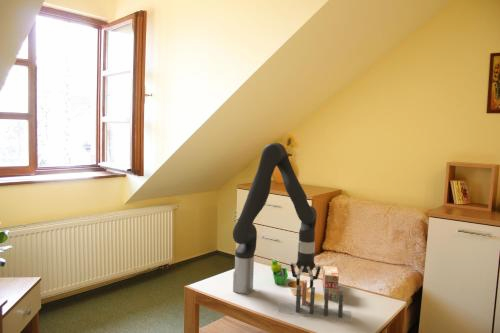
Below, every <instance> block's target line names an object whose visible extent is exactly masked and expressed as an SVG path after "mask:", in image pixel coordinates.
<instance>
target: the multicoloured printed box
mask: <svg viewBox="0 0 500 333" xmlns="http://www.w3.org/2000/svg"><path fill="white" fill-rule="evenodd" d="M339 278H340V275H339V272H338V268H337V266H326V265H325V266H324V265H323V266H322V289H323V290H322V291H323V292H322V293H323V299H324V300H325V288H326V289H329V299H328V301H329V300H330V301H331V300H332V301H338V298H339V281H340V280H339Z"/></svg>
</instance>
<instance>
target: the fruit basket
mask: <svg viewBox="0 0 500 333" xmlns="http://www.w3.org/2000/svg"><path fill="white" fill-rule="evenodd" d="M270 267H271V268H270V270H271V272H272V276H273V279H274V284H275V285H286V283H287V280H288V277H289V274H288V268H286V267H282V264H281V263H280V262H278V261H277V260H276V259H273V260H271V262H270Z"/></svg>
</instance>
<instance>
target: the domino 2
mask: <svg viewBox="0 0 500 333" xmlns="http://www.w3.org/2000/svg"><path fill="white" fill-rule="evenodd" d="M307 285H308V280H305V279H303V282H302V288H301V305H302V306H306V304H307V292H308V290H307V289H308V288H307V287H308V286H307Z"/></svg>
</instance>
